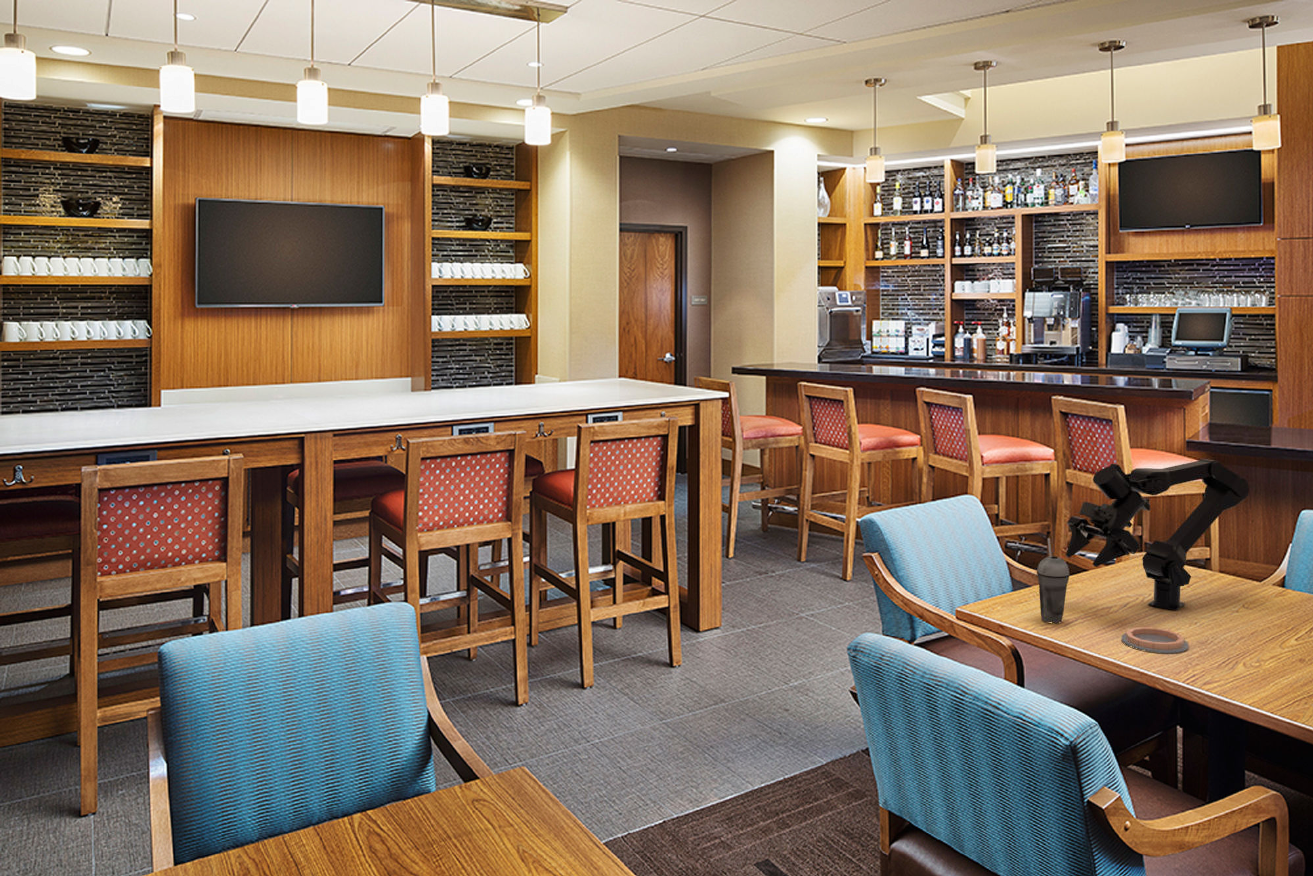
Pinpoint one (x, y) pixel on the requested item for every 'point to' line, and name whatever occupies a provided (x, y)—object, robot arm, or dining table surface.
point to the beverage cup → (1052, 587)
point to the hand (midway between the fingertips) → (1080, 560)
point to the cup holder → (1155, 640)
